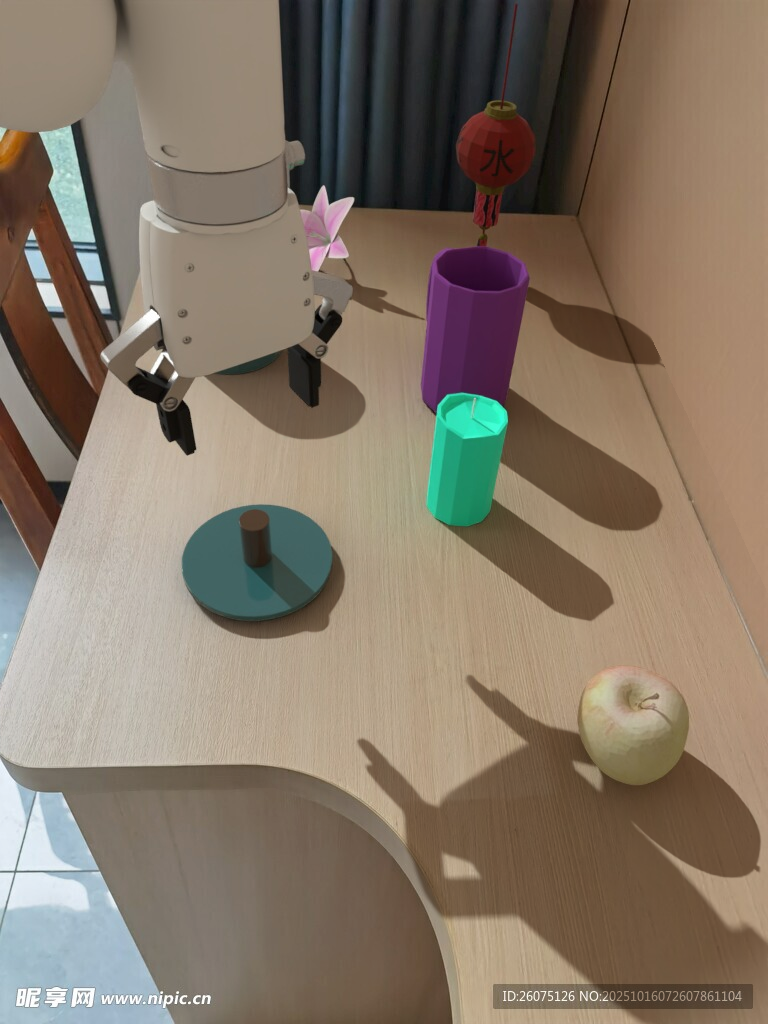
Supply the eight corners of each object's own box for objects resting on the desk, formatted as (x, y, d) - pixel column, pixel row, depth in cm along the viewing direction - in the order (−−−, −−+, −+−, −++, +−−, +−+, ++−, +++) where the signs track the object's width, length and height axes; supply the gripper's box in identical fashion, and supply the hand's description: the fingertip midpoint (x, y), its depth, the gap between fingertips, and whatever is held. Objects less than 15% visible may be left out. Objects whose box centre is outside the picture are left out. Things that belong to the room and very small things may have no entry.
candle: (412, 499, 74) (422, 394, 65) (458, 472, 77) (473, 368, 68) (458, 536, 71) (476, 431, 62) (504, 506, 74) (526, 402, 65)
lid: (175, 628, 62) (165, 582, 58) (190, 515, 71) (182, 468, 67) (334, 623, 63) (335, 577, 59) (330, 512, 72) (330, 466, 68)
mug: (436, 431, 81) (452, 298, 70) (389, 346, 91) (397, 220, 81) (519, 417, 83) (547, 286, 73) (464, 336, 93) (481, 211, 83)
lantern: (515, 287, 102) (565, 19, 81) (441, 281, 102) (471, 12, 81) (513, 252, 108) (558, -5, 87) (443, 246, 109) (471, -11, 87)
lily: (287, 249, 108) (257, 199, 100) (368, 216, 106) (344, 162, 98) (302, 318, 103) (271, 271, 95) (388, 285, 101) (364, 234, 93)
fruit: (694, 768, 56) (735, 708, 50) (615, 818, 53) (649, 760, 48) (621, 686, 61) (651, 622, 55) (545, 727, 58) (568, 665, 52)
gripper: (317, 129, 50) (321, 357, 63) (42, 187, 43) (108, 432, 55) (384, 172, 46) (375, 407, 58) (93, 244, 39) (152, 496, 51)
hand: (245, 419), depth 57 cm, fingers open, 9 cm apart
